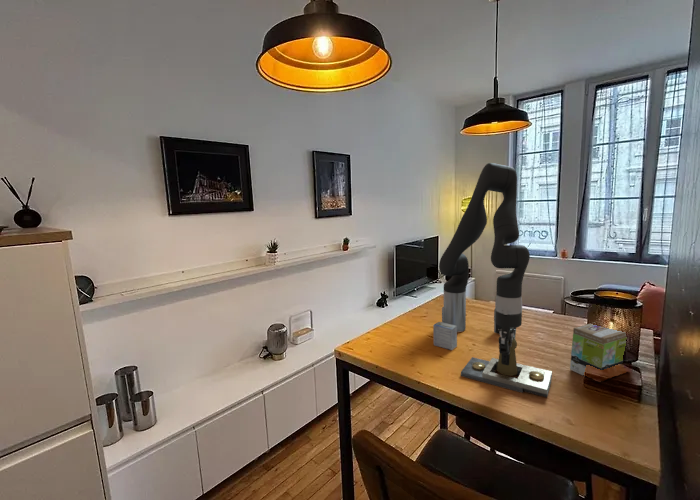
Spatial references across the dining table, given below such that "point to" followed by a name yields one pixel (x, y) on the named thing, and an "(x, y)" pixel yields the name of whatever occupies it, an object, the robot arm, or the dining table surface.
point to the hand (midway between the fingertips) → (507, 361)
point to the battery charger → (496, 326)
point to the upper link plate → (522, 378)
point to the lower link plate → (476, 370)
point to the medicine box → (445, 335)
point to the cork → (512, 366)
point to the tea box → (596, 347)
